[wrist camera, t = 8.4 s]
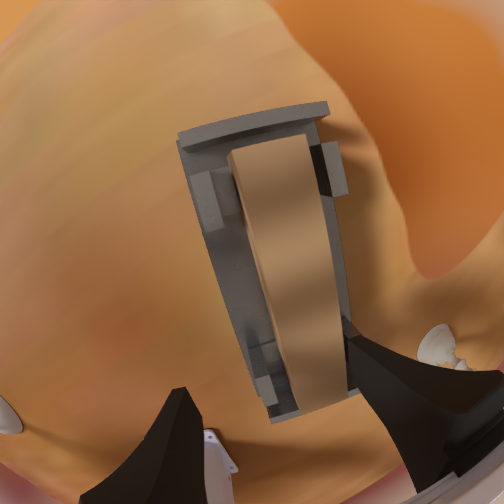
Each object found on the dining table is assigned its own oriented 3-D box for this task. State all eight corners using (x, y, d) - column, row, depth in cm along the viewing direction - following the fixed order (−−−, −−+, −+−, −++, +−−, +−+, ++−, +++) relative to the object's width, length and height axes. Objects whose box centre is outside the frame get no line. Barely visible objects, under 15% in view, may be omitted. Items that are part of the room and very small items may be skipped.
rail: (325, 359, 22) (348, 398, 17) (284, 372, 22) (301, 415, 17) (280, 143, 17) (305, 133, 12) (226, 156, 17) (231, 150, 12)
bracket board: (351, 359, 24) (372, 388, 20) (257, 391, 23) (265, 427, 19) (307, 111, 18) (333, 96, 13) (177, 142, 17) (167, 132, 13)
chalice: (432, 372, 27) (518, 465, 10) (399, 367, 25) (497, 483, 8) (463, 320, 26) (568, 400, 8) (434, 307, 24) (562, 406, 7)
